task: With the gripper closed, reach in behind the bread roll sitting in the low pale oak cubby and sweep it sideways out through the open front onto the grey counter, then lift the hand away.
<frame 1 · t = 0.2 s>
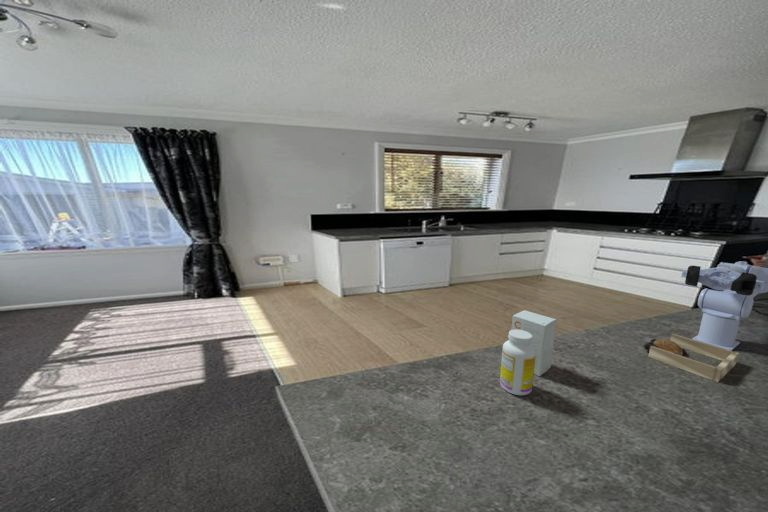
hand: (710, 282, 76), 21 cm above the countertop, tool horizontal, fingers open, 7 cm apart
small box: (528, 366, 76), on the countertop
oak cubby: (691, 360, 80), on the countertop
supplement bottle: (515, 388, 67), on the countertop
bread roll: (663, 353, 84), on the countertop
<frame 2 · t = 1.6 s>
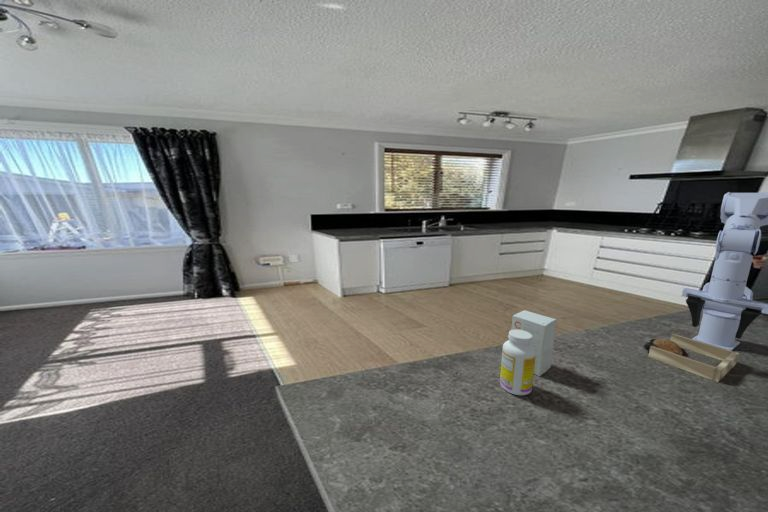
hand: (715, 331, 75), 9 cm above the countertop, tool pointing down, fingers open, 7 cm apart
nothing on the countertop moved.
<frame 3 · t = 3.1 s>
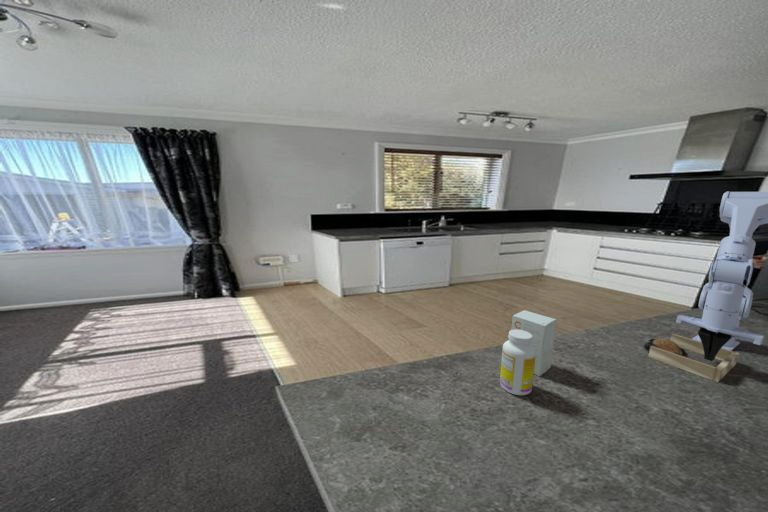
hand: (709, 358, 77), 2 cm above the countertop, tool pointing down, fingers closed
nothing on the countertop moved.
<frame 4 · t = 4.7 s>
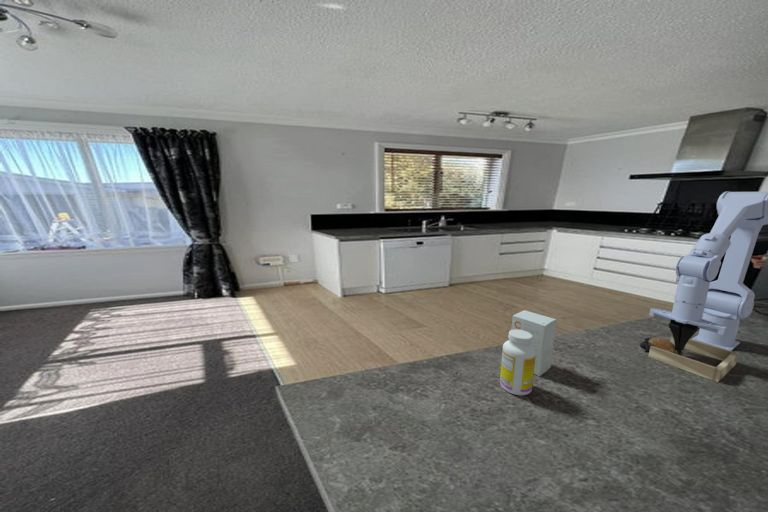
hand: (679, 349, 82), 2 cm above the countertop, tool pointing down, fingers closed
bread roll: (659, 352, 85), on the countertop, touching gripper
everything else where it was.
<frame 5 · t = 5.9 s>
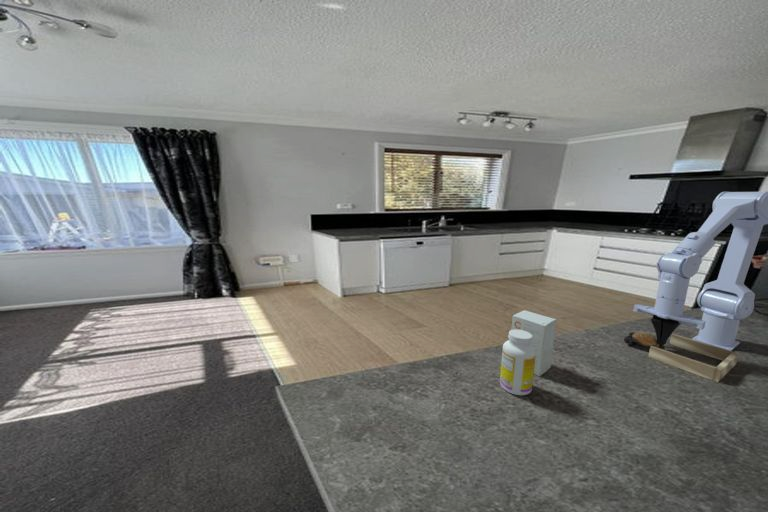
hand: (661, 343, 85), 2 cm above the countertop, tool pointing down, fingers closed
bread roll: (642, 346, 89), on the countertop
everything else where it was.
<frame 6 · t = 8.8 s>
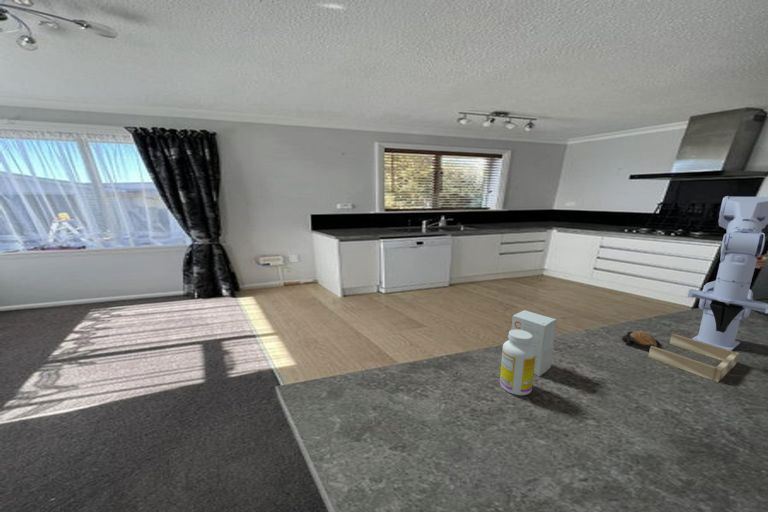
hand: (720, 330, 78), 8 cm above the countertop, tool pointing down, fingers closed
nothing on the countertop moved.
at the end: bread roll inside the target area (6.3 cm from its centre), on the countertop; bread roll tilted 0°; the gripper is holding nothing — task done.
